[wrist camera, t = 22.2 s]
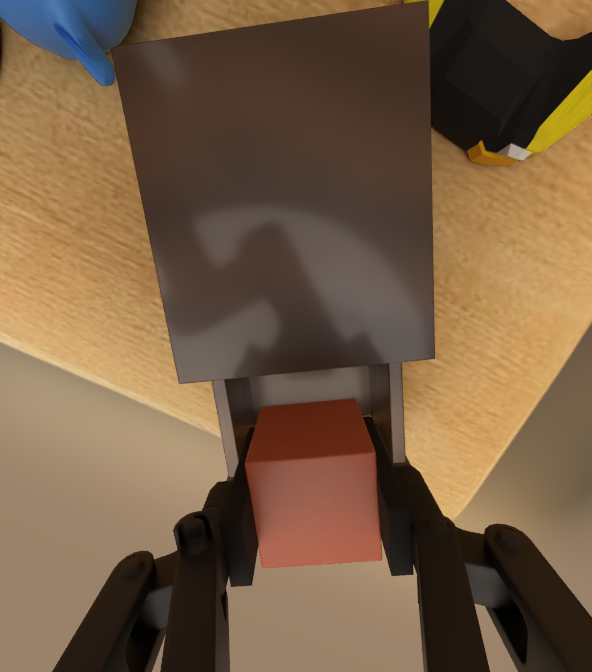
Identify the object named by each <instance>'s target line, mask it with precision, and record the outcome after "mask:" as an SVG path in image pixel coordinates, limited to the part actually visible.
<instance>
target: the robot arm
mask: <svg viewBox="0 0 592 672" xmlns="http://www.w3.org/2000/svg"><path fill="white" fill-rule="evenodd" d="M363 420H364V422H365V425H366V428H367V431H368V433H369V436H370V439H371V442H372V444H373V447H374V450H375V453H376V467H377V488H378V504H379V520H380V535H381V539H382V542H383V546H384V550H385V554H386V557H387V560H388V564H389V568H390V572H391V575H392V576H399V575H413V564H414V567H415V570H416V573H417V587H418V604H419V612H420V626H421V638H422V653H423V665H424V672H490V670H489V665H488V661H487V657H486V652H485V648H484V644H483V639H482V635H481V630H480V626H479V622H478V618H477V614H476V609H475V605H474V603H475V604H479V605H483V606H485V607H486V609H487V611H488V613H489V615H490V617H491V619H492V621H493V623H494V625H495V627H496V629H497V631H498V633H499V635H500V637H501V639H502V641H503V643H504V645H505V647H506V648H507V650H508V652H509V655H510V657H511V658H512V660H513V662H514V664H515V666H516V668H517V670H518V672H592V617H591V616H590V615H589V613H588V612H587V611H586V609H585V608H584V607H583V606H582V604H581V603H580V602H579V601H578V599H577V598H576V597H575V596H574V594H573V593H572V592H571V591H570V589H569V588H568V587H567V585H566V584H565V583H564V582H563V580H562V579H561V578H560V577H559V575H558V574H557V573H556V571H555V570H554V569H553V568H552V567H551V565H550V564H549V563H548V561H547V560H546V559H545V557H543V555H542V554H541V552H540V551H539V550H538V549H537V547H536V546H535V545H534V544H533V542H532V541H531V540H530V539H529V538H528V537H527V536H526V535H525V534H524V533H523V532H522V531H519V530H518V529H516V528H515V527H512V526H509V525H505V524H493V525H489V526H488V527H487V528H486V529H485V533H484V534H480V533H474V532H469V531H465V530H462V529H460V528H457V527H456V526H455V525H454V523H453V522H452V521H451V520H450V519H449V518H447V517H445V516H443V514H442V512H441V510H440V509H439V507H438V505H437V503H436V501H435V499H434V497H433V496H432V494H431V492H430V490H429V489H428V486H427V485H426V483H425V482H424V479H423V477H422V475H421V473H420V472H419V471H418V470H416V469H415V468H414V467H413V466H411V465H406V466H394V467H393V465H392V463H391V461H390V458H389V456H388V454H387V451H386V449H385V447H384V444H383V442H382V440H381V437H380V435H379V433H378V430H377V428H376V426H375V423H374V421H373V419H372V417H363ZM254 431H255V427H251V428H249V431H248V434H247V437H246V440H245V443H244V447H243V450H242V453H241V456H240V459H239V462H238V465H237V468H236V471H235V474H234V478H233V481H224V482H217V483H216V484H215V485H214V487H213V488H212V489H211V490H210V492H209V494H208V497H207V500H206V502H205V504H204V508H203V509H202V511H198V512H193V513H190V514H188V515H186V516H184V517H183V518H181V519H180V520H179V521H178V523H177V524H176V525H175V527H174V530H173V532H174V536H175V540H176V545H177V549H178V550H177V551H175V552H173V553H171V554H169V555H166V556H163V557H160V558H157V559H154V558H153V554H151V553H150V552H149V551H139V552H135V553H133V554H131V555H129V556H127V557H126V558H124V559H123V560H122V561H120V562H119V563H118V565H117V566H116V567H115V568H114V570H113V571H112V573H111V575H110V576H109V578H108V580H107V581H106V583H105V585H104V586H103V588H102V590H101V591H100V593H99V595H98V596H97V598H96V600H95V601H94V603H93V605H92V606H91V608H90V610H89V611H88V613H87V615H86V616H85V618H84V620H83V621H82V623H81V625H80V626H79V628H78V630H77V631H76V633H75V635H74V636H73V638H72V640H71V641H70V643H69V645H68V646H67V648H66V650H65V651H64V653H63V655H62V656H61V658H60V660H59V661H58V663H57V665H56V666H55V668H54V670H53V671H52V672H152V670H153V667H154V664H155V661H156V659H157V656H158V653H159V650H160V647H161V645H162V642H163V639H164V636H165V634H166V637H165V643H164V650H163V657H162V664H161V671H160V672H230V657H229V656H230V655H229V624H228V623H229V622H228V597H227V592H226V585H227V581H228V577H229V578H230V583H231V587H235V586H250V585H252V581H253V575H254V569H255V562H256V556H257V550H258V539H257V532H256V526H255V520H254V514H253V508H252V502H251V496H250V490H249V486H248V480H247V474H246V468H245V461H246V458H247V454H248V451H249V448H250V444H251V441H252V437H253V434H254Z"/></svg>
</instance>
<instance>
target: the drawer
mask: <svg viewBox="0 0 592 672" xmlns="http://www.w3.org/2000/svg"><path fill="white" fill-rule="evenodd" d="M212 386H213V391H214V397H215V402H216V408H217V414H218V419H219V425H220V430H221V436H222V440H223V447H224V452H225V458H226V464H227V469H228V478H227V481H233V478H234V474H235V471H236V468H237V465H238V462H239V459H240V456H241V453H242V450H243V447H244V443H245V440H246V437H247V434H248V431H249V428H251V427H255V426H256V424H257V420H258V417H259V414H260V410H261V407H264V406H275V405H286V404H296V403H307V402H318V401H329V400H340V399H351V398H356V400H357V403H358V406H359V409H360V411H361V414H362V415H371V414H372V416H373V418H374V421H375V423H376V424H375V426H376V428H377V430H378V433H379V435H380V437H381V440H382V442H383V444H384V447H385V449H386V451H387V454H388V456H389V458H390V461H391V463H392V465H393V467H394V466H406V465H410V463H409V461H408V459H407V457H406V455H405V433H404V408H403V384H402V362H398V363H387V364H377V365H367V366H357V367H347V368H337V369H326V370H316V371H306V372H296V373H286V374H275V375H265V376H255V377H245V378H235V379H224V380H214V381H212Z"/></svg>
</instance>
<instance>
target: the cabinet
mask: <svg viewBox="0 0 592 672" xmlns="http://www.w3.org/2000/svg"><path fill="white" fill-rule="evenodd" d="M111 52H112V57H113V62H114V67H115V71H116V76H117V81H118V86H119V91H120V96H121V101H122V106H123V111H124V116H125V120H126V125H127V130H128V135H129V140H130V145H131V150H132V155H133V160H134V165H135V170H136V174H137V179H138V184H139V189H140V194H141V199H142V204H143V209H144V214H145V219H146V223H147V228H148V233H149V238H150V243H151V248H152V253H153V258H154V263H155V268H156V273H157V277H158V282H159V287H160V292H161V297H162V302H163V307H164V312H165V317H166V322H167V326H168V331H169V336H170V341H171V346H172V351H173V356H174V361H175V366H176V371H177V376H178V380H179V384H184V383H194V382H204V381H214V380H224V379H235V378H245V377H255V376H265V375H275V374H286V373H296V372H306V371H316V370H326V369H337V368H347V367H357V366H367V365H377V364H387V363H398V362H408V361H418V360H428V359H435V336H434V277H433V217H432V158H431V98H430V39H429V0H424V1H417V2H411V3H404V4H397V5H390V6H384V7H377V8H370V9H364V10H357V11H350V12H344V13H337V14H330V15H323V16H317V17H310V18H303V19H297V20H290V21H283V22H277V23H270V24H263V25H256V26H250V27H243V28H236V29H230V30H223V31H216V32H210V33H203V34H196V35H190V36H183V37H176V38H169V39H163V40H156V41H149V42H143V43H136V44H129V45H123V46H116V47H111Z"/></svg>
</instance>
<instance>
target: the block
mask: <svg viewBox="0 0 592 672" xmlns="http://www.w3.org/2000/svg"><path fill="white" fill-rule="evenodd" d="M245 468H246V474H247V480H248V486H249V490H250V496H251V502H252V508H253V514H254V520H255V526H256V532H257V539H258V547H259V553H260V559H261V566H262V568H275V567H290V566H304V565H320V564H335V563H351V562H364V561H365V562H366V561H381V560H382V546H381V535H380V520H379V504H378V488H377V467H376V453H375V450H374V447H373V444H372V442H371V439H370V436H369V433H368V431H367V428H366V425H365V422H364V420H363V417H362V414H361V411H360V409H359V406H358V403H357V400H356V398H351V399H340V400H329V401H318V402H307V403H296V404H286V405H275V406H264V407H261V410H260V414H259V417H258V420H257V424H256V427H255V431H254V434H253V437H252V441H251V444H250V448H249V451H248V454H247V458H246V461H245Z"/></svg>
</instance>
